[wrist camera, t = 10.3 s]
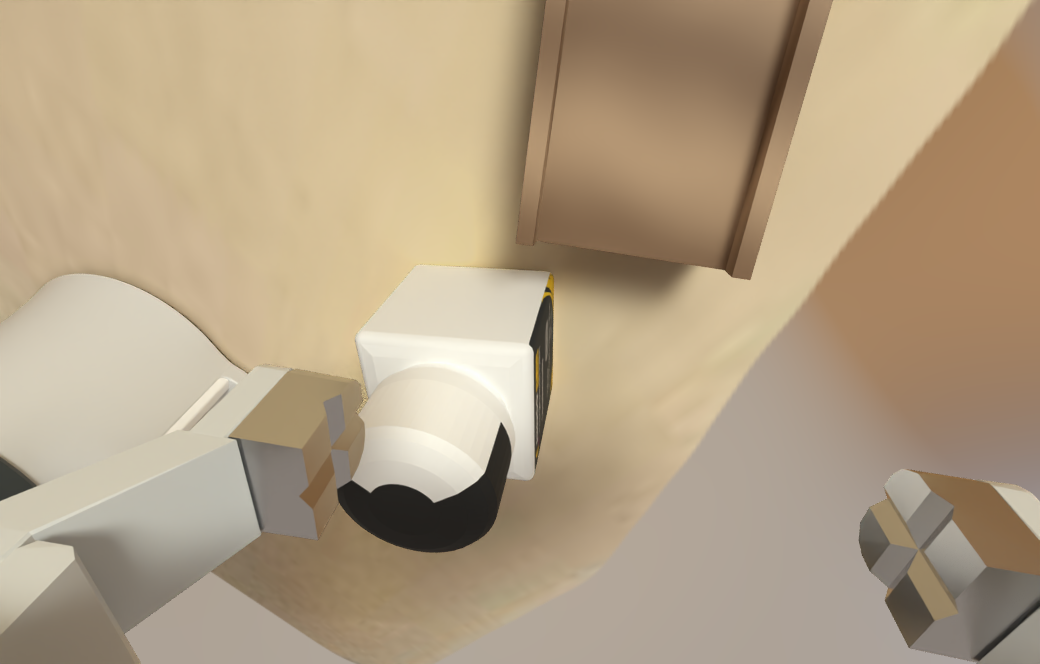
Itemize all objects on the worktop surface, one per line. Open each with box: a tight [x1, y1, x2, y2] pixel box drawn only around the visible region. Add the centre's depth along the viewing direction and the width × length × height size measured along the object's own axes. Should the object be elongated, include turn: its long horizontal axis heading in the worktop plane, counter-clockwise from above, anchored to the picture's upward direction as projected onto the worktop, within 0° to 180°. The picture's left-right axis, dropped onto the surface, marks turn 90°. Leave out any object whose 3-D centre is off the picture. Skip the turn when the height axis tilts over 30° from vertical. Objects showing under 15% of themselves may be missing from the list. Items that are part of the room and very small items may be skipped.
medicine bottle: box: [337, 264, 554, 553], centre depth 22 cm, size 7×7×12 cm
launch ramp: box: [516, 0, 833, 280], centre depth 17 cm, size 12×8×6 cm, turn 175°
